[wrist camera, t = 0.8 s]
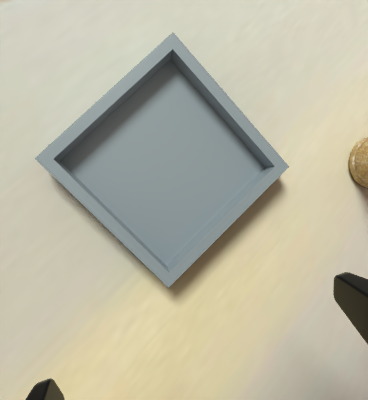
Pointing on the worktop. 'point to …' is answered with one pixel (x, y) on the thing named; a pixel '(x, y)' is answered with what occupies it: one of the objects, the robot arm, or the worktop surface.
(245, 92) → the worktop surface
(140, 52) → the worktop surface
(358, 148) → the sprinkles bottle
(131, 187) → the tray
